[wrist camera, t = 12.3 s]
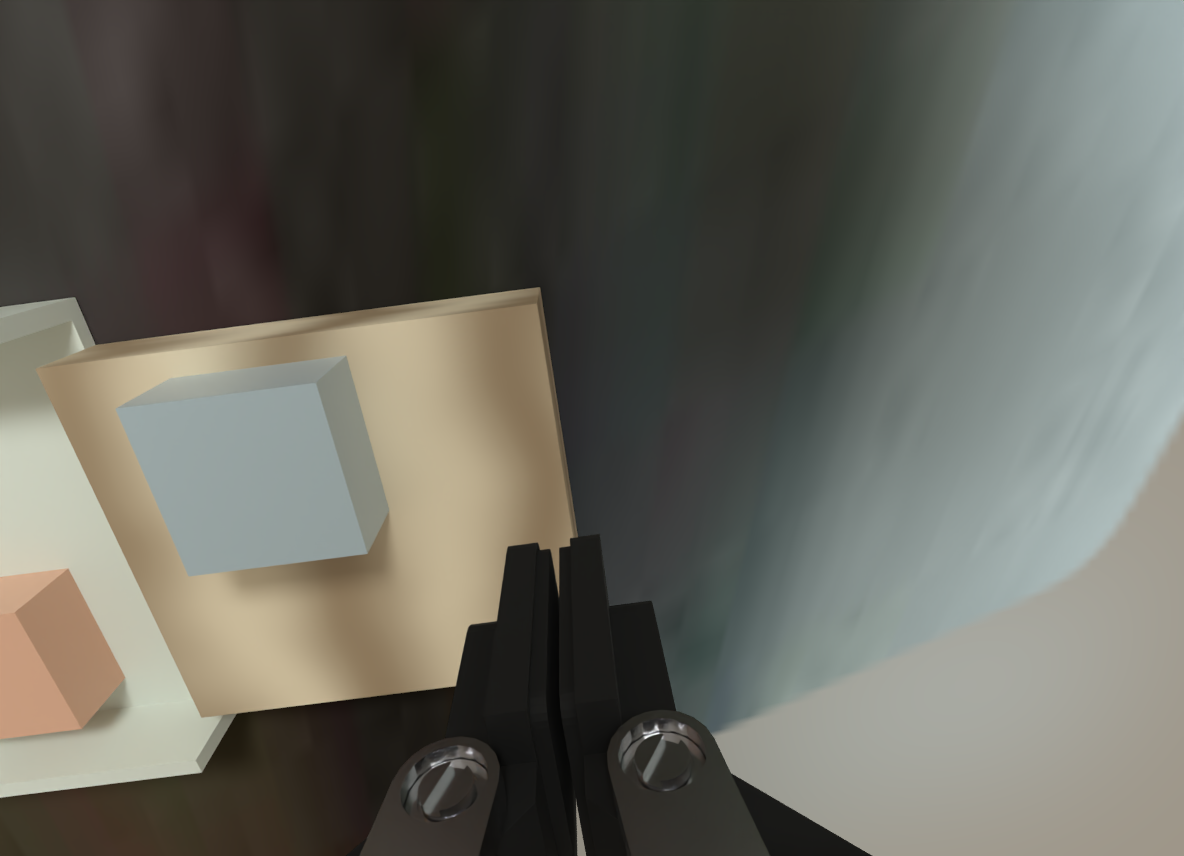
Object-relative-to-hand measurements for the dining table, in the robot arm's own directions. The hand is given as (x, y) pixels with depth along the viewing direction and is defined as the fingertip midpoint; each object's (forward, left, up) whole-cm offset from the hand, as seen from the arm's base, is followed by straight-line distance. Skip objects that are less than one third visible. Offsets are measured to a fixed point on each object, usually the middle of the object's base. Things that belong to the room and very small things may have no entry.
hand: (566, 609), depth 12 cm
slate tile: (+8, -1, -7) cm, 11 cm away
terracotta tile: (+21, +6, -9) cm, 23 cm away
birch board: (+7, +3, -11) cm, 13 cm away
